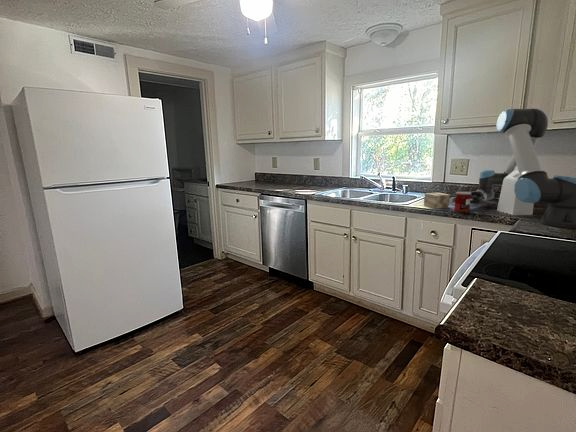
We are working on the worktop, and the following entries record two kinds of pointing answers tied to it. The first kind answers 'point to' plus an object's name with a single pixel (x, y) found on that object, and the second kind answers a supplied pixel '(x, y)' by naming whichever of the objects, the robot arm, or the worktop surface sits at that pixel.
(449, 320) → the worktop surface
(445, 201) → the maple brick
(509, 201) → the milk
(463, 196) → the canned food
